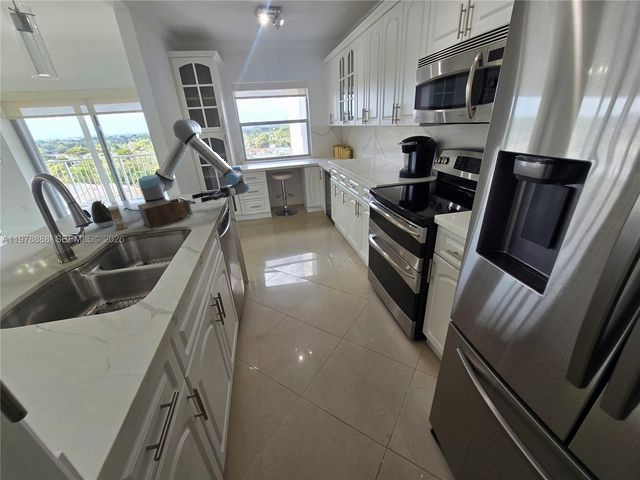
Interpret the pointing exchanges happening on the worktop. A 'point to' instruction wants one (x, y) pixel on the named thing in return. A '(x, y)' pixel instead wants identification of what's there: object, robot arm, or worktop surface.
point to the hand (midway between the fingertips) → (196, 198)
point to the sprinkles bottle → (117, 217)
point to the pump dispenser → (101, 214)
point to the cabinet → (158, 213)
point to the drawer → (182, 207)
